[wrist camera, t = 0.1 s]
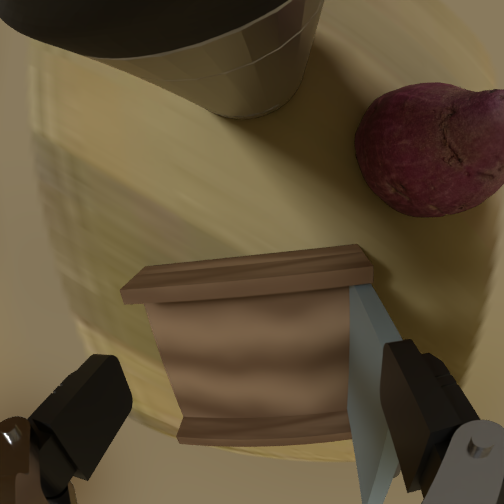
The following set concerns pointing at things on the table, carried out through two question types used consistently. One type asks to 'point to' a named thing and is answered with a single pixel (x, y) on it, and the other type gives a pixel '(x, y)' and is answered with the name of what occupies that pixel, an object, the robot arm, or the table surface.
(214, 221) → the table surface
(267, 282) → the brown wooden tray
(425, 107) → the vegetable
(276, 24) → the robot arm
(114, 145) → the table surface
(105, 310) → the table surface
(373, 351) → the panel
